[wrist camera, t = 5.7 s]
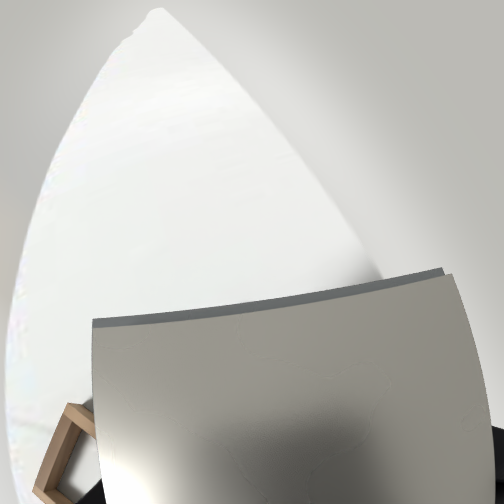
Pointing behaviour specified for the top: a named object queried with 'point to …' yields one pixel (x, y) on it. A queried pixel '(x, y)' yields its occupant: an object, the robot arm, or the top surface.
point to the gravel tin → (297, 400)
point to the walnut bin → (62, 452)
